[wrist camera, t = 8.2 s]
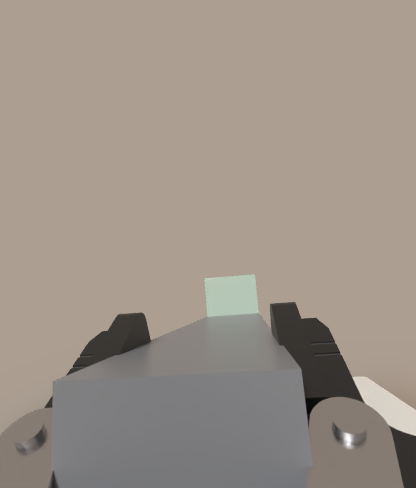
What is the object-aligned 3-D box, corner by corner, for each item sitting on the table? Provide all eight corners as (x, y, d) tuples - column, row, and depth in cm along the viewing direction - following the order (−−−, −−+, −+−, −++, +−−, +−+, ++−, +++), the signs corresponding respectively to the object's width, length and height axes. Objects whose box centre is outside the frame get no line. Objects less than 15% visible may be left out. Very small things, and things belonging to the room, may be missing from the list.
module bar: (49, 558, 5) (55, 206, 6) (215, 342, 28) (210, 281, 29) (324, 562, 4) (278, 180, 5) (260, 340, 28) (253, 277, 29)
